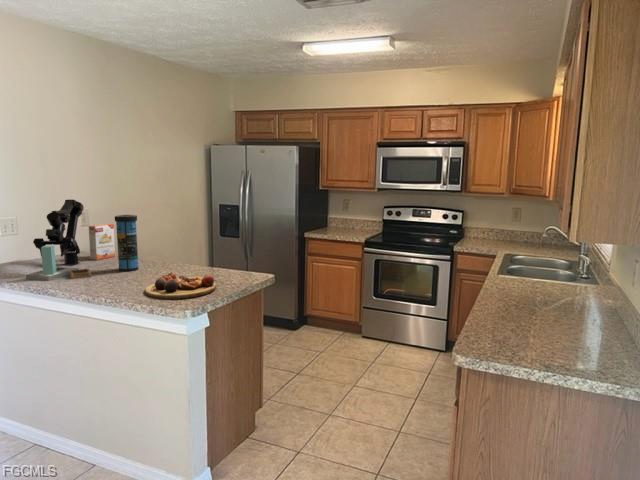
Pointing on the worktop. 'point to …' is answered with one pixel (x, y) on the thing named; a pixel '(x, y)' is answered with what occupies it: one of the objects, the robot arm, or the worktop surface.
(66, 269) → the board
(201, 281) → the wooden plate with food
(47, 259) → the post
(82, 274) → the cubby
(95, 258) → the cracker box
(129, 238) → the advertising column
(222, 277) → the worktop surface
